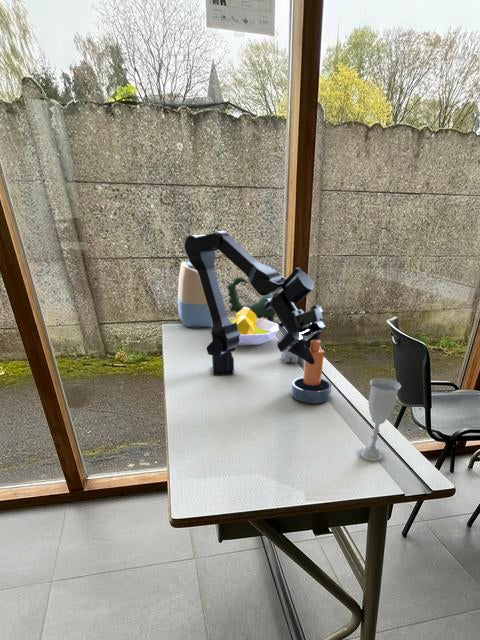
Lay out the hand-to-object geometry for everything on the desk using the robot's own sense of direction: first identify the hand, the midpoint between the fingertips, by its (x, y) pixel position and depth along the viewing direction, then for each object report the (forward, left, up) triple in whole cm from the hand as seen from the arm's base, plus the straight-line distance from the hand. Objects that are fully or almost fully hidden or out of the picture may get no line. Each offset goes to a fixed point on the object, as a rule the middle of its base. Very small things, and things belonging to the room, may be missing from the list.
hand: (318, 361), depth 126 cm
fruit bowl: (-13, +59, -11) cm, 62 cm away
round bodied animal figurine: (+3, +33, -11) cm, 35 cm away
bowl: (-1, +1, -11) cm, 11 cm away
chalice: (+5, -36, -11) cm, 38 cm away
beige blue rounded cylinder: (-29, +84, -11) cm, 90 cm away
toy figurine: (-3, +88, -11) cm, 89 cm away
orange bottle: (-1, +1, -7) cm, 7 cm away
